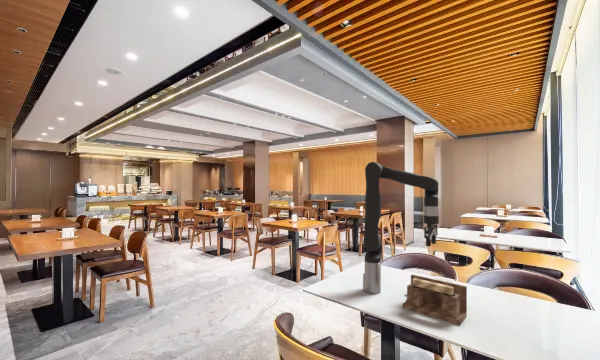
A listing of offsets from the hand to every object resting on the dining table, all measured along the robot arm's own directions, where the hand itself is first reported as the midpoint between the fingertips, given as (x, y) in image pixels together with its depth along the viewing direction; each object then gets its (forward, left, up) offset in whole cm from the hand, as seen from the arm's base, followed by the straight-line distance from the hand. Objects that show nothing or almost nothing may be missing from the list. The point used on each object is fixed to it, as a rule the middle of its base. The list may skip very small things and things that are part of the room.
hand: (431, 244), depth 151 cm
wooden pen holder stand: (+5, -12, -30) cm, 33 cm away
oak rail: (+5, -14, -23) cm, 27 cm away
